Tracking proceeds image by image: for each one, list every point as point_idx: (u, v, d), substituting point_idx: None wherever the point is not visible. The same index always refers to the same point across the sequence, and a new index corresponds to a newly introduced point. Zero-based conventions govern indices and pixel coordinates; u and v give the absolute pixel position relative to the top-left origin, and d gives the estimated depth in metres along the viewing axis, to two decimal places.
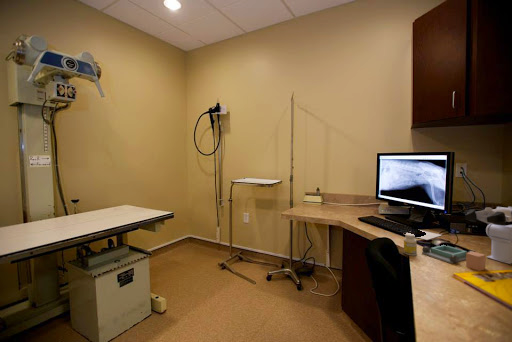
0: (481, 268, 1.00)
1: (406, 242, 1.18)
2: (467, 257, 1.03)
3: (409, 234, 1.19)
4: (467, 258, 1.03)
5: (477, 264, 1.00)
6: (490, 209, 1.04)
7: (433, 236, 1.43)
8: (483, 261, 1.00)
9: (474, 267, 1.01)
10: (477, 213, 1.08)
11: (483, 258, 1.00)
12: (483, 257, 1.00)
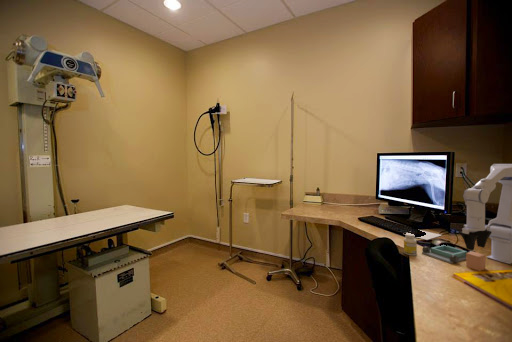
0: (481, 268, 1.00)
1: (406, 242, 1.18)
2: (467, 257, 1.03)
3: (409, 234, 1.19)
4: (467, 258, 1.03)
5: (477, 264, 1.00)
6: (465, 226, 1.04)
7: (433, 236, 1.43)
8: (483, 261, 1.00)
9: (474, 267, 1.01)
10: None
11: (483, 258, 1.00)
12: (483, 257, 1.00)
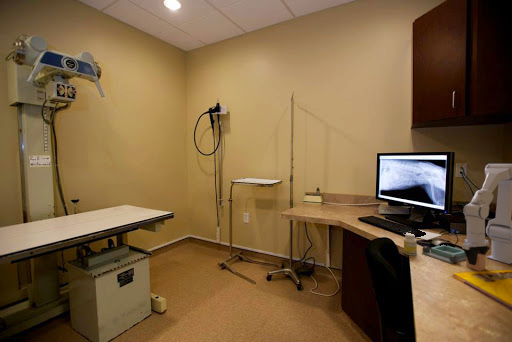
0: (481, 268, 1.00)
1: (406, 242, 1.18)
2: None
3: (409, 234, 1.19)
4: None
5: (476, 264, 1.00)
6: (465, 241, 1.05)
7: (433, 236, 1.43)
8: (483, 261, 1.00)
9: (474, 267, 1.01)
10: None
11: (483, 258, 1.00)
12: (483, 257, 1.00)
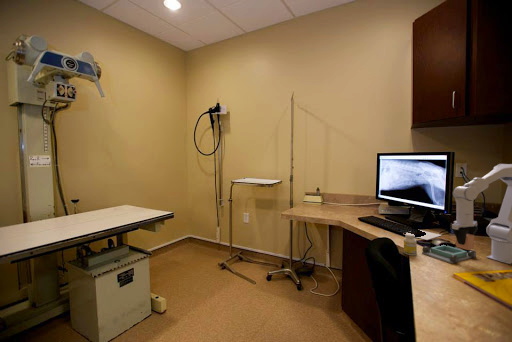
0: (470, 247, 1.05)
1: (406, 242, 1.18)
2: None
3: (409, 234, 1.19)
4: None
5: (466, 244, 1.04)
6: (455, 222, 1.09)
7: (433, 236, 1.43)
8: (472, 241, 1.05)
9: (463, 247, 1.05)
10: None
11: (472, 238, 1.05)
12: (472, 237, 1.05)
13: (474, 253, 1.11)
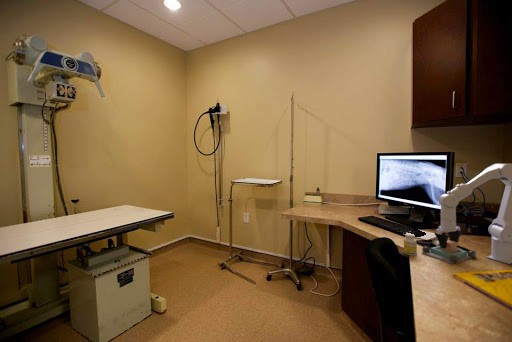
0: None
1: (406, 242, 1.18)
2: None
3: (409, 234, 1.19)
4: None
5: (449, 250, 1.13)
6: None
7: (433, 236, 1.43)
8: (455, 248, 1.14)
9: None
10: None
11: (455, 245, 1.14)
12: (454, 244, 1.14)
13: (474, 253, 1.11)
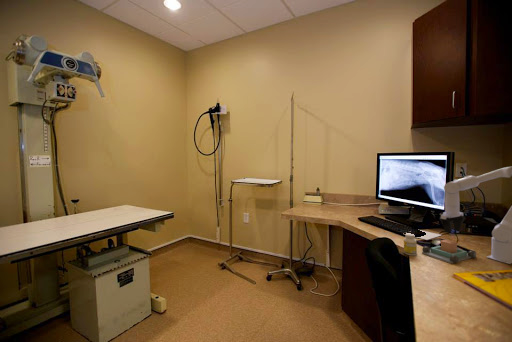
0: None
1: (406, 242, 1.18)
2: (441, 244, 1.16)
3: (409, 234, 1.19)
4: (441, 245, 1.16)
5: (449, 250, 1.13)
6: (444, 213, 1.25)
7: (433, 236, 1.43)
8: (455, 248, 1.14)
9: None
10: None
11: (455, 245, 1.14)
12: (454, 244, 1.14)
13: (474, 253, 1.11)
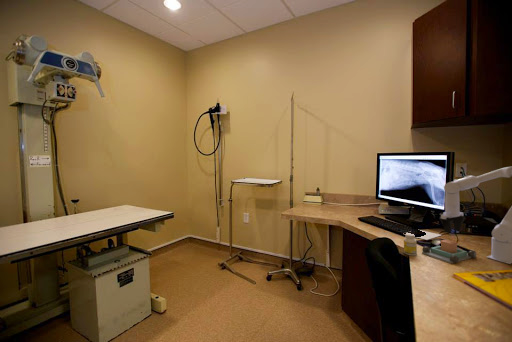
0: None
1: (406, 242, 1.18)
2: (441, 244, 1.16)
3: (409, 234, 1.19)
4: (441, 245, 1.16)
5: (449, 250, 1.13)
6: (444, 213, 1.25)
7: (433, 236, 1.43)
8: (455, 248, 1.14)
9: None
10: None
11: (455, 245, 1.14)
12: (454, 244, 1.14)
13: (474, 253, 1.11)
